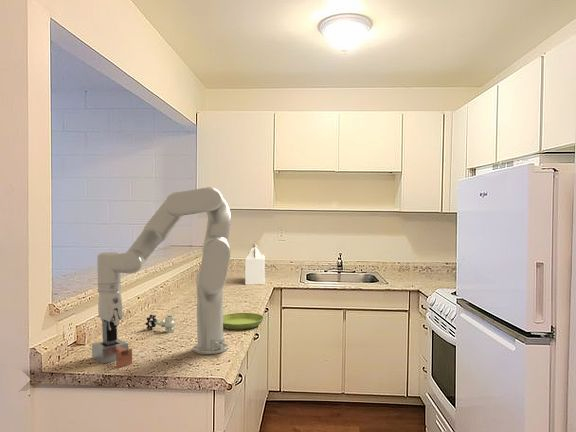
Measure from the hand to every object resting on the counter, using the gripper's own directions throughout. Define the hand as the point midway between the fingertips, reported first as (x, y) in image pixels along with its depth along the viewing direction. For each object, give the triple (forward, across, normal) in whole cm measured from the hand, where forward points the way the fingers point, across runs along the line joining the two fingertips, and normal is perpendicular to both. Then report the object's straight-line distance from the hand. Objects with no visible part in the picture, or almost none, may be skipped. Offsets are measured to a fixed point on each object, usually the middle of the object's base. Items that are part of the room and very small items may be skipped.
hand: (109, 338), depth 157 cm
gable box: (+7, +80, -138) cm, 160 cm away
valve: (+7, +18, -30) cm, 36 cm away
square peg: (+2, 0, 0) cm, 2 cm away
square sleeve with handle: (+7, -4, 0) cm, 8 cm away
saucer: (+7, +1, -60) cm, 61 cm away
